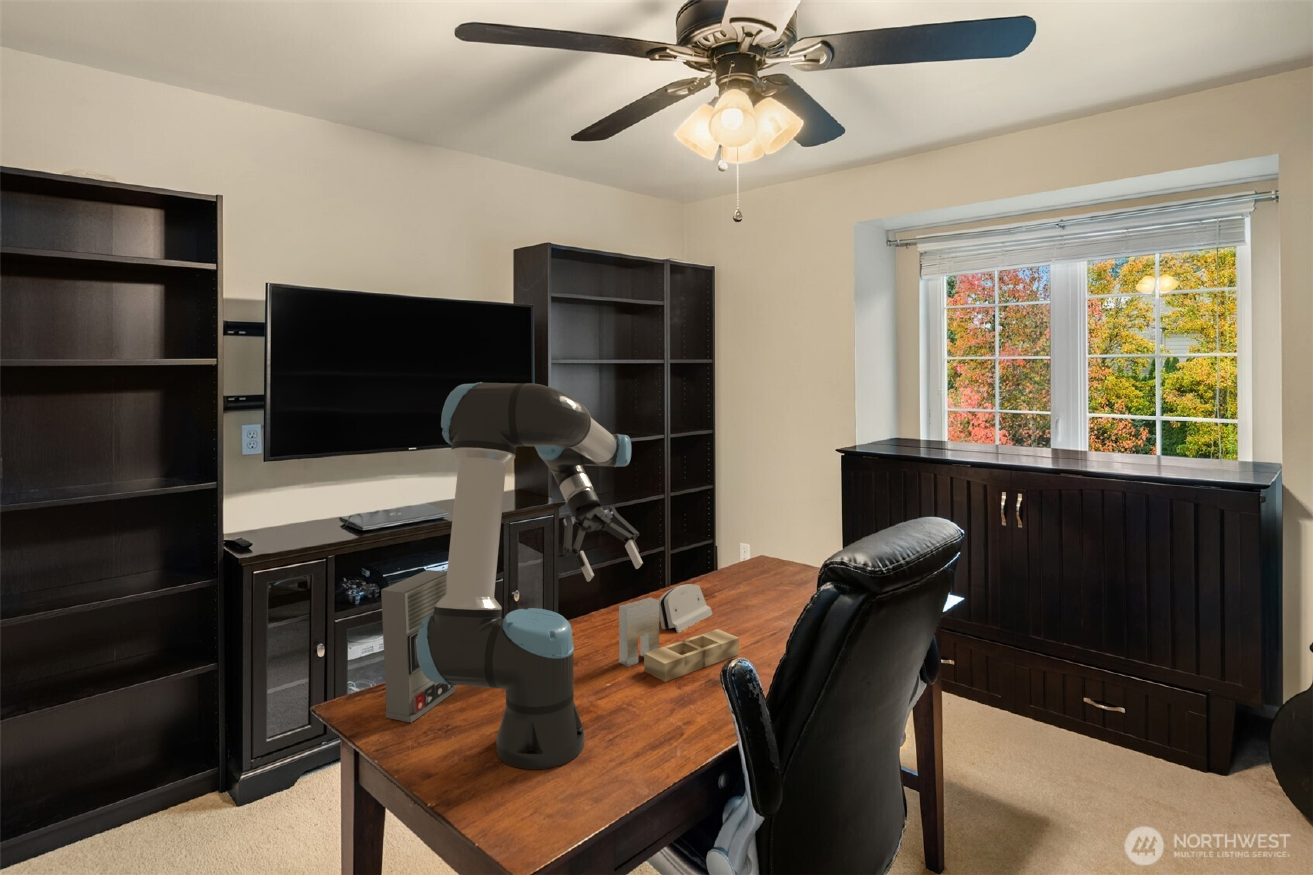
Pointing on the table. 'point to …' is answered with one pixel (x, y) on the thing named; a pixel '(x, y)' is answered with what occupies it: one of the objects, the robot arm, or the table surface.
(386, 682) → the cassette tape recorder
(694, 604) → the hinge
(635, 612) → the grey notched block
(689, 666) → the beige open box
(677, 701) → the table surface
